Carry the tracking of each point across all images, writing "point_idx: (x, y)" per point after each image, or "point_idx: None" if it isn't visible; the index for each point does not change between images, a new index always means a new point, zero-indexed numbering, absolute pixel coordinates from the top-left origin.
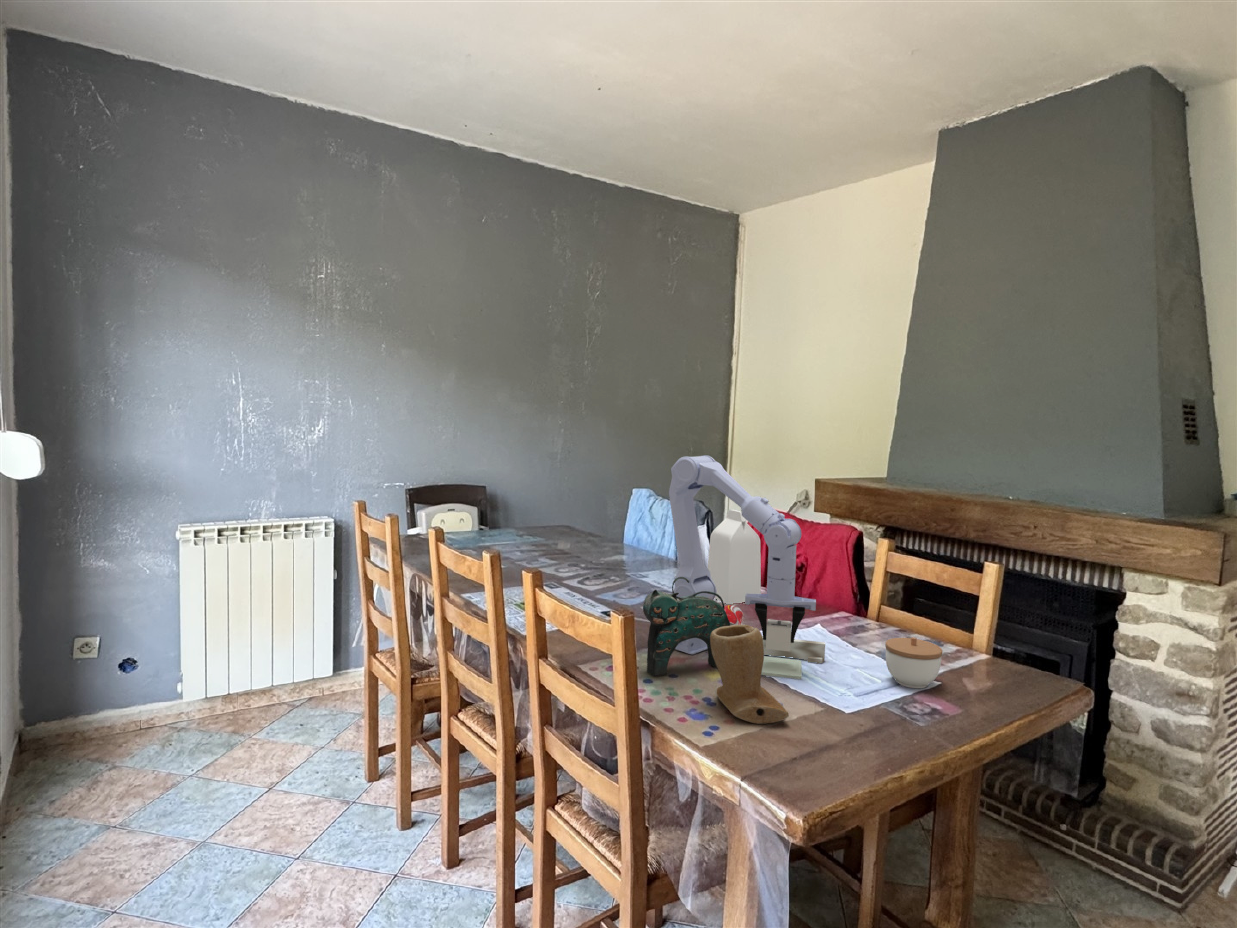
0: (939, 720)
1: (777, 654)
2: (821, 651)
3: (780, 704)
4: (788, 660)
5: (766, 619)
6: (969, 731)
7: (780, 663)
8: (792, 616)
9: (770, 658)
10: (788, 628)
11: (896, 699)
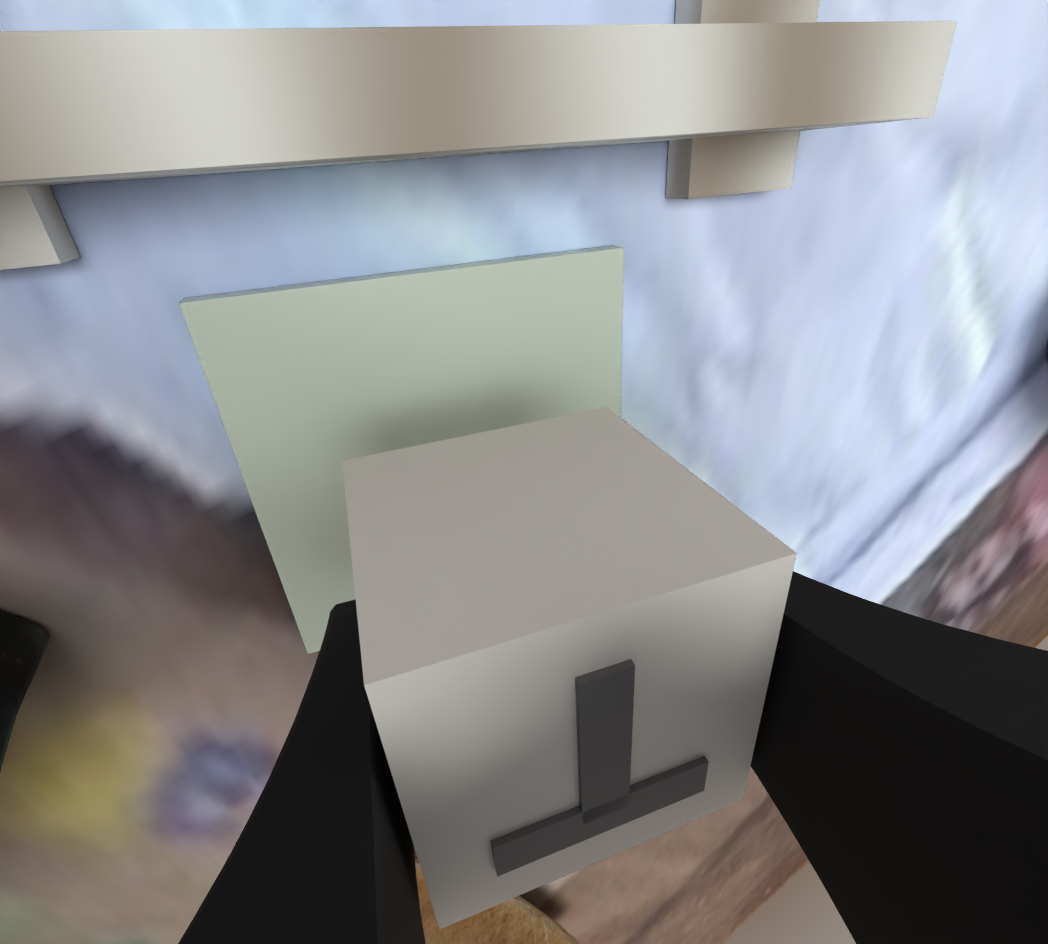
0: (988, 622)
1: (401, 159)
2: (836, 126)
3: (553, 938)
4: (523, 303)
5: (403, 899)
6: (1020, 641)
7: (470, 410)
8: (885, 851)
9: (362, 323)
10: (708, 803)
11: (948, 539)
